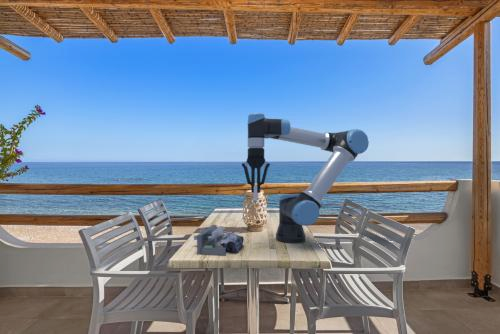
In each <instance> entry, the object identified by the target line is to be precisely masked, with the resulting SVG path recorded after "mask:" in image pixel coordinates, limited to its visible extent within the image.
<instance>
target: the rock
mask: <svg viewBox="0 0 500 334" xmlns="http://www.w3.org/2000/svg"><path fill="white" fill-rule="evenodd" d="M224 234H225V235H224V236H223V237H222V238H221V239H222V240H221V241H220V244H221V246H220V247H224V248H226V251H228V252H232V253H238V252H239V251H240V249H241V248H242V247H243V245H244V241H245V239H244V236H242V235H239V234H236V233H233V232H229V231H227V232H225V233H224Z"/></svg>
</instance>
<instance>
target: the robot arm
mask: <svg viewBox="0 0 500 334" xmlns="http://www.w3.org/2000/svg"><path fill="white" fill-rule="evenodd" d="M265 139H272V140H278V141H283V142H289V143H295V144H299V145H305V146H310V147H316V148H320V150H322V151H325V152H326V151H327V152H330V153H332V154H331V155H330V157H329V158H328V159H327V161H326V162H325V164H323V166H322V168H321V169H320V170H319V172H318V173H317V174H316V176H315V177H314V178H313V180H312V181H311V183H310V184H309V185H308V187H307V188H306V190H302V191H300V192H299V193H298V194H281V195H280V196H279V200H278V203H279V205H278V208H279V211H278V216H279V218H278V219H279V220H278V222H279V223H278V226H277V229H276V233H275V240H277V241H279V242H282V243H287V244H288V243H290V244H293V243H294V244H296V243H297V244H298V243H303V242H305V241H306V233H305V229H304V226H307V227H308V226H311V225H313V224H315V222H317V221H318V219H319V217H320V209H321V208H322V206H323V205H322V200H323V199H324V197H325V196H326V195H327V193H328V191H330V189H331V187H332V186H333V185H334V183H335V182H336V181H337V179H338V178H339V176H340V175H341V174H342V172H343V171H344V169H345V168H346V167H347V165H348V164H349V163H350V162H354V161H355V160H356V158H357V157H358V155H359V154H360V155H361V154H363V153H365V152H366V151H367V150H368V148H369V142H370V141H369V138H368V135H367V134H366V133H365V131H364V130H361V129H358V128H356V129H355V128H353V129H350V130H346V131H345V130H344V131H340V132H339V131H338V132H327V131H325V132H318V131H312V130H307V129H304V128H303V129H302V128H298V127H292V126H291V122H290V120H289V119H285V118H284V119H283V118H268V117H267V118H266V117H265V113H263V112H251V113H249V114H248V116H247V147H248V148H247V158H246V161H244V162H242V163H241V166H242V167H243V170H244V174H245V180H246V184H247V185H250V187H251V189H250V190H251V192H250V193H253V201H256V202H257V201H258V200H259V198H258V197H259V193H261V186H262V185H264V184H265V181H266V178H267V175H268V174H267V173H268V170H269V167H270V166H271V163H269V162H268V161H267V160H266V158H265ZM248 166H249V167H250V170H251V171H250V172H251V177H250V174H249V168H248ZM263 166H264V168H263V169H264V170H263V175H262V176H261V169H262V167H263ZM261 177H262V178H261ZM255 180H256V181H255Z"/></svg>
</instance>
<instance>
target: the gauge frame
mask: <svg viewBox="0 0 500 334" xmlns="http://www.w3.org/2000/svg"><path fill="white" fill-rule="evenodd" d="M217 226H218V225H217V224H212V225H210V226H209V227H207V228H206V229H204V230H202V232H201V231H200V233H199V234H197V235H196V236H197V240H196V255H209V256H223V257H224V256H227V250H226V248H224V247H223V246H220V247H213V245H212V244H210V241H208V236H212V232H214V231H215V230H216V229H217V228H218V227H217ZM225 234H226V233H224V234H223V236H224V235H225Z"/></svg>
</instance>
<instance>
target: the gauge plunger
mask: <svg viewBox="0 0 500 334" xmlns="http://www.w3.org/2000/svg"><path fill="white" fill-rule="evenodd" d="M223 234H225V230H224V226H219V227H217V229H216V230H215V231H214V232H212V236H208V241H210V244H212V245H213V247H222V246H221V244H220V241H221V240H222V239H221V238H222V237H223ZM193 239H194V241H197V235H193Z"/></svg>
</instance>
